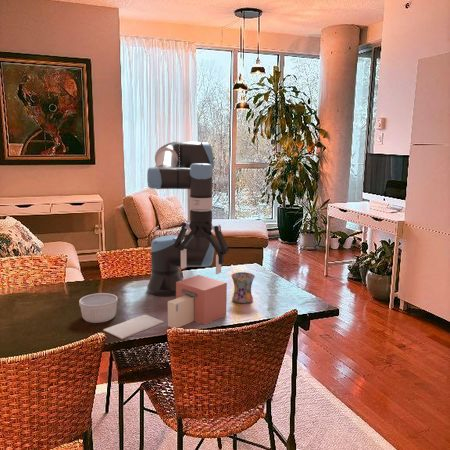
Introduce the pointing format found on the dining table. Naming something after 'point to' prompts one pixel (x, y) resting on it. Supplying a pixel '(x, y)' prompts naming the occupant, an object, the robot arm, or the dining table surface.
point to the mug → (242, 287)
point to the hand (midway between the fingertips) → (200, 270)
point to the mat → (133, 326)
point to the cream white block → (181, 311)
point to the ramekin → (98, 307)
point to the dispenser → (205, 297)
